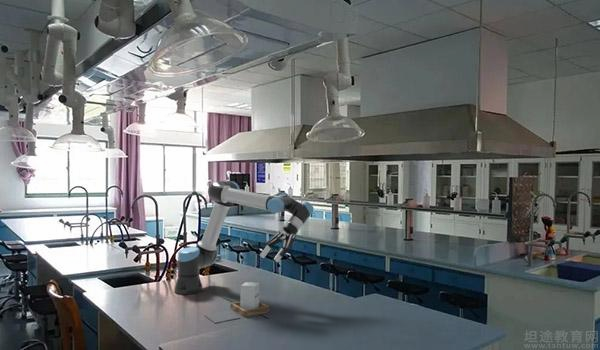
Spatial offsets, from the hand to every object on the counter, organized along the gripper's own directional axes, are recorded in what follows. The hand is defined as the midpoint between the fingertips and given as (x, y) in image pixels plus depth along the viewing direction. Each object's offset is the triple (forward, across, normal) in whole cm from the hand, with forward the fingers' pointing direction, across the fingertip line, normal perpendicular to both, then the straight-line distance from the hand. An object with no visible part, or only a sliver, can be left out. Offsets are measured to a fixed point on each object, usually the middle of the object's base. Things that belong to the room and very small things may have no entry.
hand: (268, 258), depth 206 cm
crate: (+25, -2, -8) cm, 26 cm away
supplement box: (+25, -2, -8) cm, 26 cm away
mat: (+35, -4, +3) cm, 36 cm away
